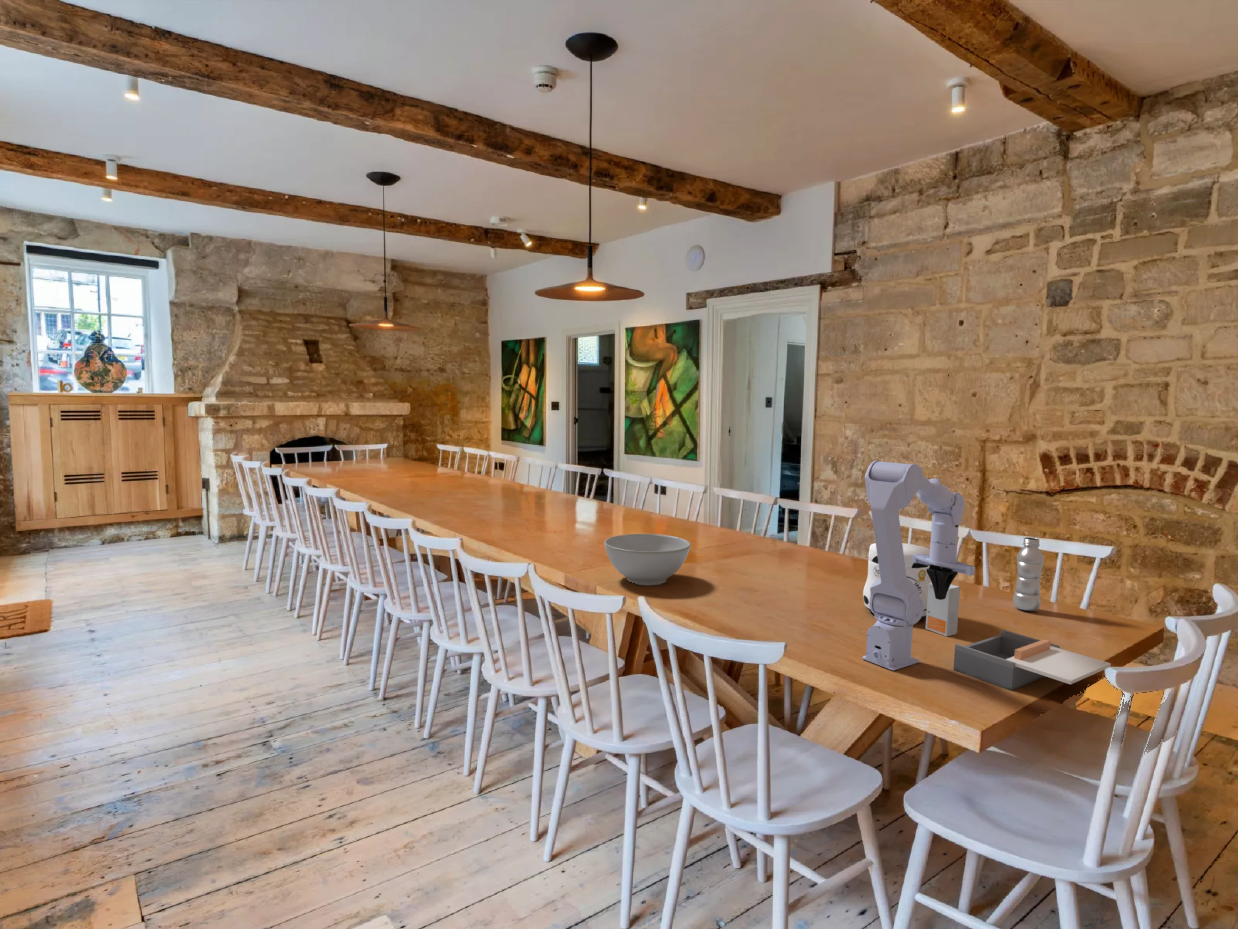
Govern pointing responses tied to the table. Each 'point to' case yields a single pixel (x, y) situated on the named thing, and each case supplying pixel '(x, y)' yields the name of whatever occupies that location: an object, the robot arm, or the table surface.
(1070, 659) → the lid
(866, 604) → the milk container
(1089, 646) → the table surface
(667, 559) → the decorative bowl
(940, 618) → the skincare box
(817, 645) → the table surface
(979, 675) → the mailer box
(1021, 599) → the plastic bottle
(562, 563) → the table surface
